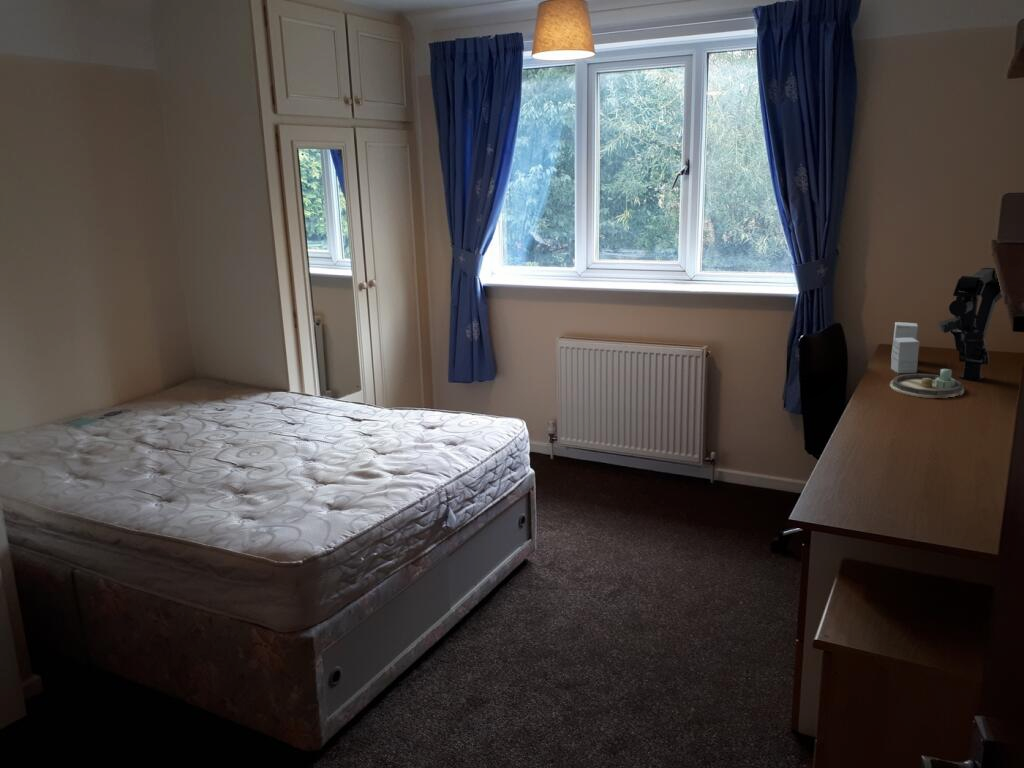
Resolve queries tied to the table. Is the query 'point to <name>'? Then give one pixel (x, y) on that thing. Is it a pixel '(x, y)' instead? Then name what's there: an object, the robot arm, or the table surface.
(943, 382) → the pale green domed piece
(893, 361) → the supplement box
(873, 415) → the table surface
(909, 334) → the skincare box
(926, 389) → the carrier plate
